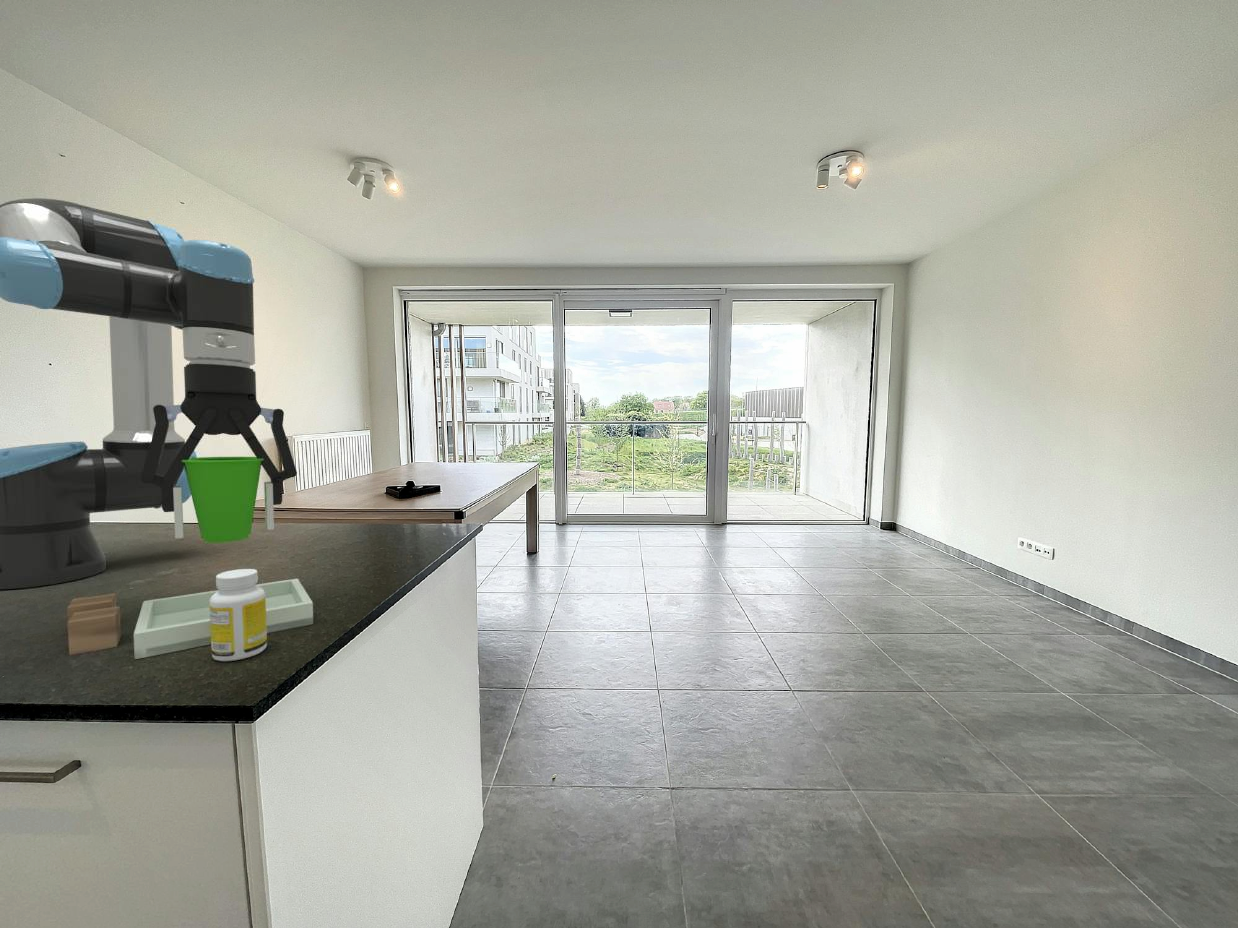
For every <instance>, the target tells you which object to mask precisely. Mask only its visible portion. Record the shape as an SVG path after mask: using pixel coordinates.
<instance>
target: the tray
mask: <svg viewBox="0 0 1238 928" xmlns="http://www.w3.org/2000/svg"><path fill="white" fill-rule="evenodd" d="M256 586H258V587H260V588H262V589H263V590H264V592H265V602H266V624H267V634H270V633H275V632H281V631H284V630H285V631H286V630H290V629H295V628H300V627H306V626H310V625H314V602H313V600H312V598H310V596H309V595H308V594H309V593H308V592H306V589H305V588H304V586H303V585H302V583H301V582H300V580H299V579H298V578H293V579H287V580H286V579H284V580H278V581H271V582H265V583H258V584H257V583H256ZM217 592H219V589H217V590H210V591H205V592H204V591H203V592H197V593H189V594H184V595H176V596H169V597H162V598H156V599H155V598H154V599H149V600H143V602H142V605H141V609H140V611H139V612H140V613H139V615H138V619H137V622H136V625H135V628H134V631H133V651H134V660H137V659H143V658H149V657H155V656H158V655H163V654H169V653H173V652H179V651H183V650H189V649H194V648H199V647H203V646H205V647H206V646H209V645H210V646H211V629H210V606H209V605H210V598H211V597H212V596H213V595H214V594H215V593H217Z"/></svg>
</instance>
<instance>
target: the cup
mask: <svg viewBox="0 0 1238 928" xmlns="http://www.w3.org/2000/svg"><path fill="white" fill-rule="evenodd" d="M263 460H264V459H263V458H262V459H257V457H256V456H202V457H197V458H189V459H188V460H182V461H181V462H184V463H185V466H184V467H185V471H186V475H187V479H188V484H189V488H190V492H191V496H190V497H191V500H192V504H193V507H194V508H193V509H194V511H195V516H196V519H197V525H198V528H199V532H200V536H201V539H203V542H205V543H207V544H208V543H209V544H212V543H213V544H214V543H215V544H217V543H219V544H221V543H230V542H231V543H232V542H237V541H243V540H246V539H248V538H249V535H251V533H252V526H253V519H254V514H255V512H254V511H255V507H256V501H257V495H258V494H257V493H258V489H259V488H258V487H259V482H260V475H261V469H262V465H261V461H263Z"/></svg>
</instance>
